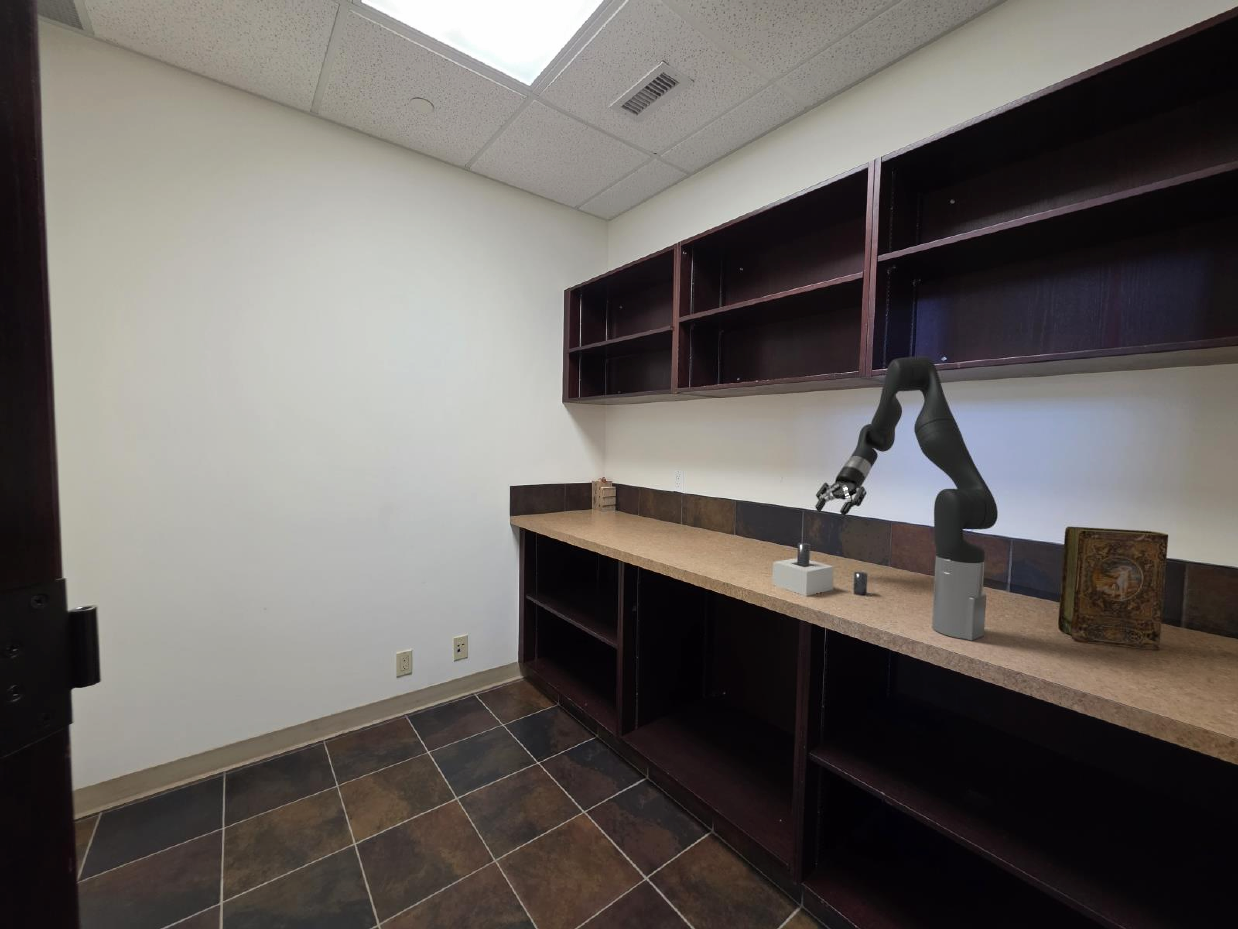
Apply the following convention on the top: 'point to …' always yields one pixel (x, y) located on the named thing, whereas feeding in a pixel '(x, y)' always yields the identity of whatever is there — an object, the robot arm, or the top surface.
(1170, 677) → the top surface
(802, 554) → the long pin
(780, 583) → the hole block
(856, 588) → the short pin
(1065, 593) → the book
